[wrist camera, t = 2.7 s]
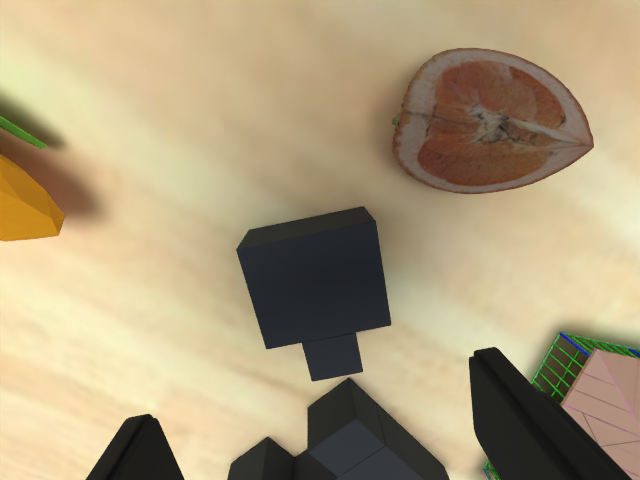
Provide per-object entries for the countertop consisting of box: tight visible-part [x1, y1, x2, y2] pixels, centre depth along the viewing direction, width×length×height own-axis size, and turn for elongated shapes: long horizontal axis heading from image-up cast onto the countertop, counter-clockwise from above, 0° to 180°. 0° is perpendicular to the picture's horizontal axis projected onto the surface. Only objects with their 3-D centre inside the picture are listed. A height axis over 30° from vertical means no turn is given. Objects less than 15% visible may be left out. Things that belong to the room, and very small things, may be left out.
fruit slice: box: [391, 48, 594, 194], centre depth 15 cm, size 8×7×5 cm
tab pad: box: [236, 207, 391, 381], centre depth 18 cm, size 7×9×4 cm
